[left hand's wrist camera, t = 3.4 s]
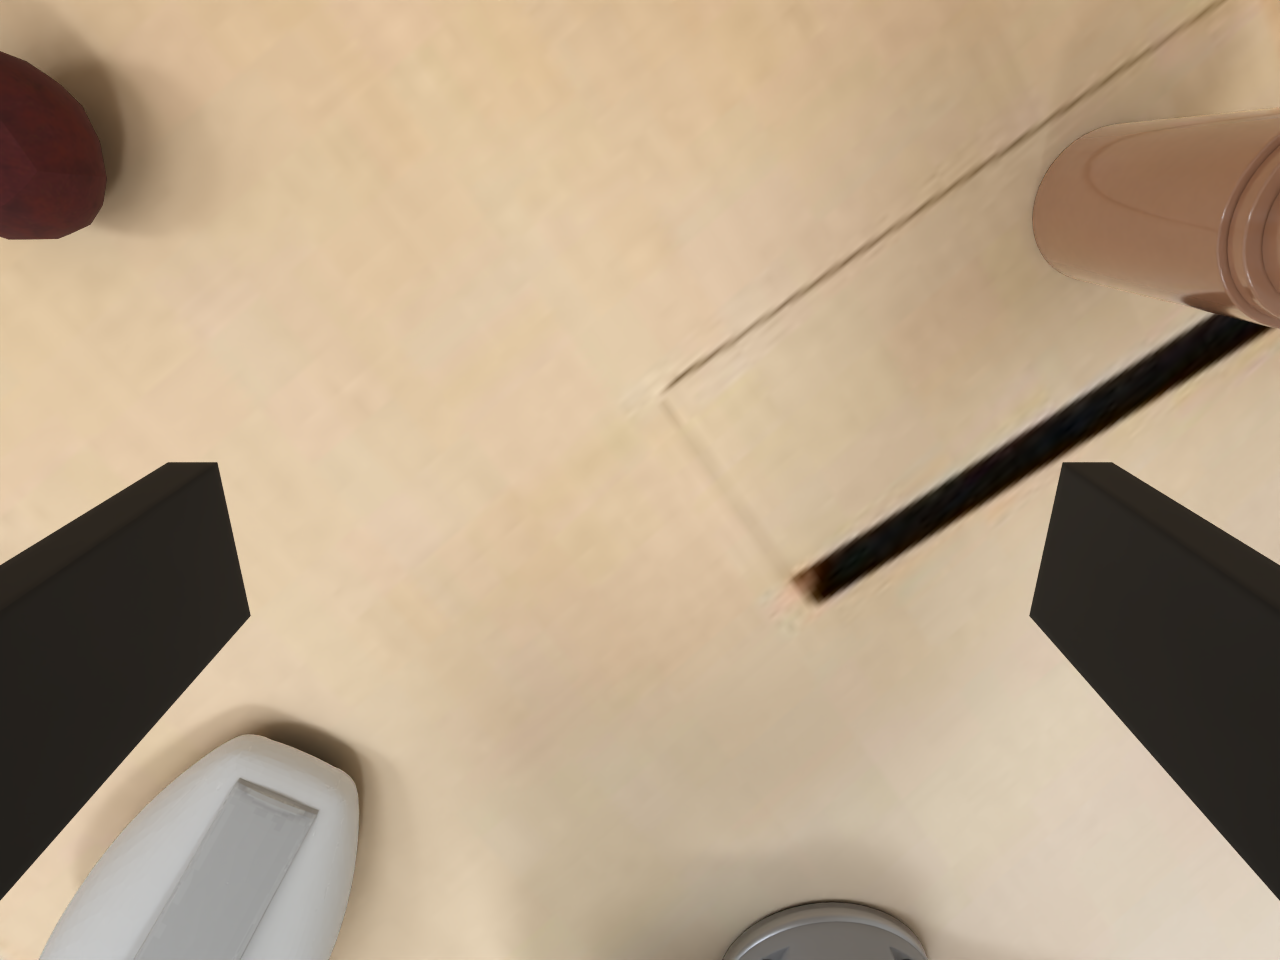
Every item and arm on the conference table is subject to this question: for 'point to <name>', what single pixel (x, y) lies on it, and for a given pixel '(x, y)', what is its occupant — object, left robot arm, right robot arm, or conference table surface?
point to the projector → (224, 865)
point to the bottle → (1171, 211)
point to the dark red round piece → (45, 157)
